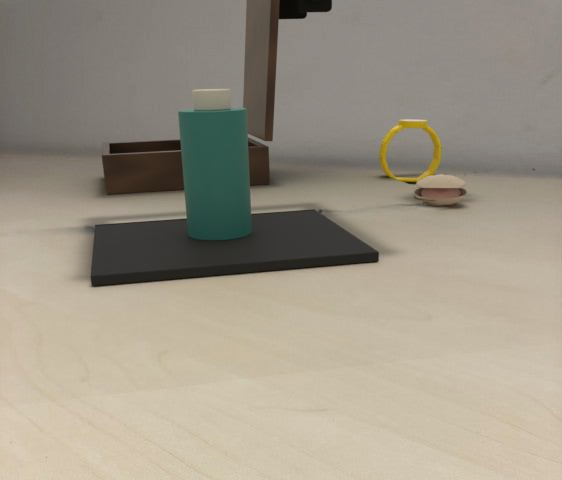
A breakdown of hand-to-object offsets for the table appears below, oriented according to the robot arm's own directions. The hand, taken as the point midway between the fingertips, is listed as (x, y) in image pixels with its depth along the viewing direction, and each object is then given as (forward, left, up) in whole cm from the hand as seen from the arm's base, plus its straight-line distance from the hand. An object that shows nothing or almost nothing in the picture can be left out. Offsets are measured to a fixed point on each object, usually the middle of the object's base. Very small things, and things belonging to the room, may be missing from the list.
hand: (302, 14), depth 68 cm
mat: (-13, -26, -16) cm, 33 cm away
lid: (-5, 0, -3) cm, 6 cm away
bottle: (-13, -26, -15) cm, 33 cm away
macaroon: (+7, -18, -16) cm, 25 cm away
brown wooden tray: (-13, 0, -16) cm, 20 cm away
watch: (+9, -6, -16) cm, 19 cm away
